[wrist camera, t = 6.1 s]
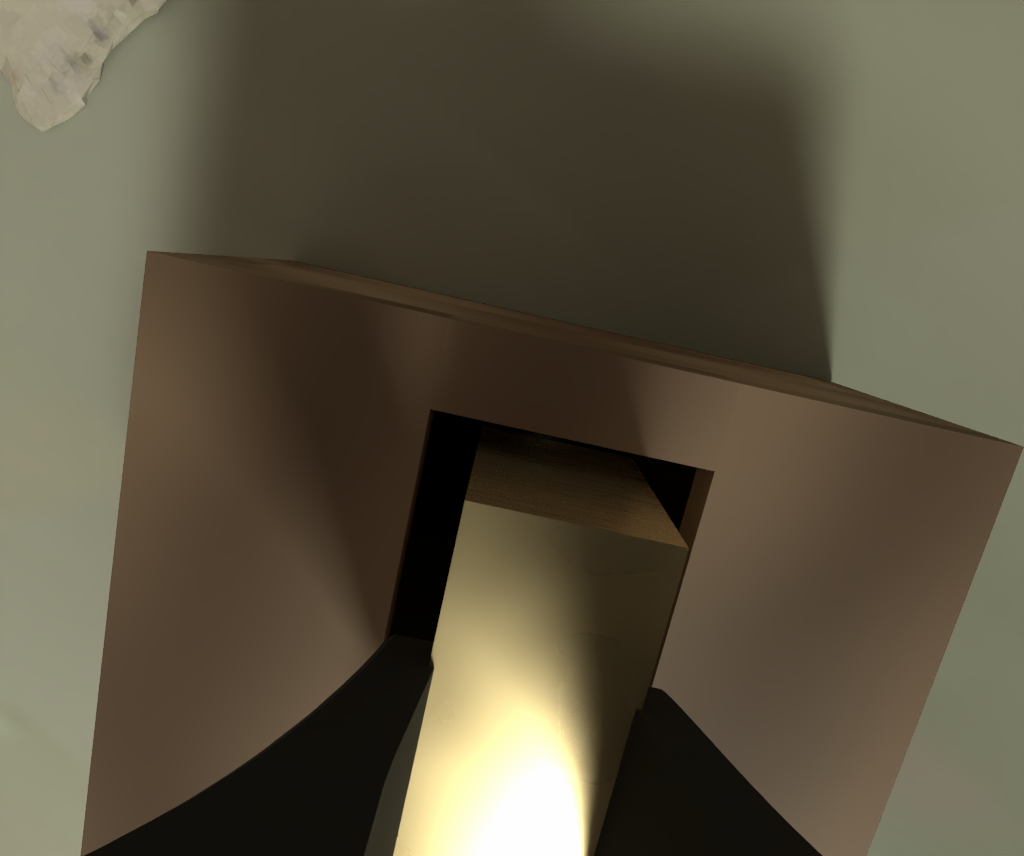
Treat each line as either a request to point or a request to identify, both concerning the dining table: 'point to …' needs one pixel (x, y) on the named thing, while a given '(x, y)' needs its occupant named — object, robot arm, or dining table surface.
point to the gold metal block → (539, 651)
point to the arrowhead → (61, 50)
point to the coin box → (391, 503)
